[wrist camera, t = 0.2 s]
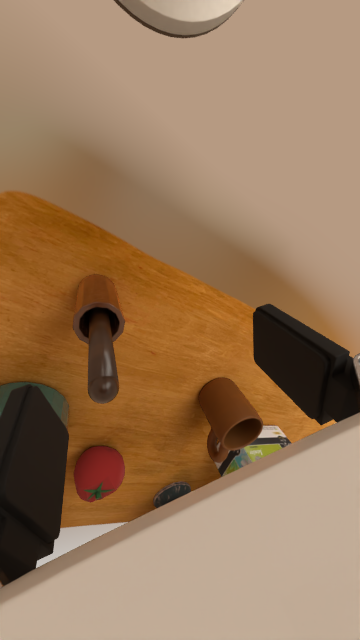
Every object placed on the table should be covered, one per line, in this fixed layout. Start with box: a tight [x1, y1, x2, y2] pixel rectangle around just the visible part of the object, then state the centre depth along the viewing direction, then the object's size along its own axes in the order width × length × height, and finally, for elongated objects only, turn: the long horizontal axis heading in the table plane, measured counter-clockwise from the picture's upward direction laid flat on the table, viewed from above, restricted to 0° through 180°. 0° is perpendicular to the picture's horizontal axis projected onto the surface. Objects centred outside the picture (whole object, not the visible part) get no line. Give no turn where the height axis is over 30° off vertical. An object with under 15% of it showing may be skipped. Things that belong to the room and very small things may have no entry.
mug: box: [199, 378, 263, 463], centre depth 41 cm, size 12×8×9 cm, turn 153°
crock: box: [73, 274, 125, 344], centre depth 25 cm, size 4×4×9 cm
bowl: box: [0, 382, 69, 430], centre depth 31 cm, size 12×12×6 cm
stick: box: [88, 307, 119, 404], centre depth 21 cm, size 2×2×18 cm
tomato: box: [74, 446, 125, 502], centre depth 38 cm, size 8×8×7 cm
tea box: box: [215, 426, 292, 477], centre depth 49 cm, size 15×10×15 cm
